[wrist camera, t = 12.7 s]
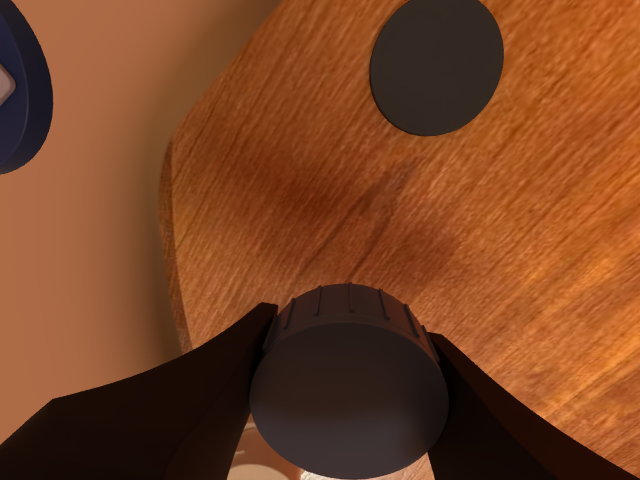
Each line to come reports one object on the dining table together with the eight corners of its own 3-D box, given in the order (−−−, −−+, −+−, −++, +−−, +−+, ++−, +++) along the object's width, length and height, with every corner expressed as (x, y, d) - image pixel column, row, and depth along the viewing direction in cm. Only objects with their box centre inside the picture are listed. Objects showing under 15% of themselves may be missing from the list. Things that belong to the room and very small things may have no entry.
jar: (246, 357, 24) (189, 487, 15) (290, 325, 23) (257, 445, 14) (286, 395, 25) (254, 540, 16) (330, 366, 24) (324, 504, 15)
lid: (455, 386, 11) (483, 446, 9) (313, 437, 12) (307, 501, 10) (386, 251, 9) (399, 284, 7) (234, 323, 10) (207, 369, 8)
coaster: (344, 55, 17) (345, 52, 17) (459, -39, 16) (463, -45, 15) (410, 160, 19) (413, 161, 18) (521, 84, 17) (527, 82, 17)
